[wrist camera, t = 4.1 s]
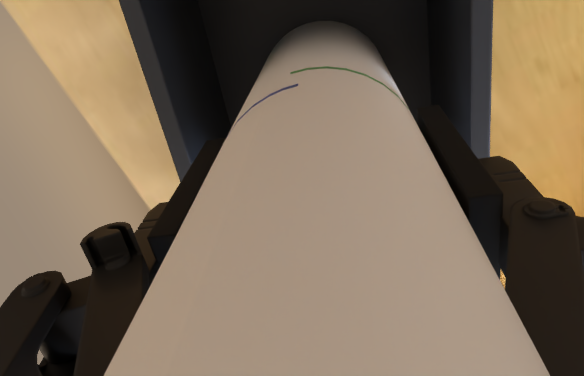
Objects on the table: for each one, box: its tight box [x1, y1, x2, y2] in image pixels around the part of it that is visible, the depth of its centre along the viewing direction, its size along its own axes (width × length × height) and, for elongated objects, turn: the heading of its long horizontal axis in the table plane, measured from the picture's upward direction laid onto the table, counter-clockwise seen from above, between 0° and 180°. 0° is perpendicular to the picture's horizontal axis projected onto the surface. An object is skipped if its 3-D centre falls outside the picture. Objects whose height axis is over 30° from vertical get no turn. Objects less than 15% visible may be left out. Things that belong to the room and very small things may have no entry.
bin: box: [119, 0, 493, 182], centre depth 22 cm, size 16×14×8 cm
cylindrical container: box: [104, 21, 550, 376], centre depth 15 cm, size 7×7×25 cm
